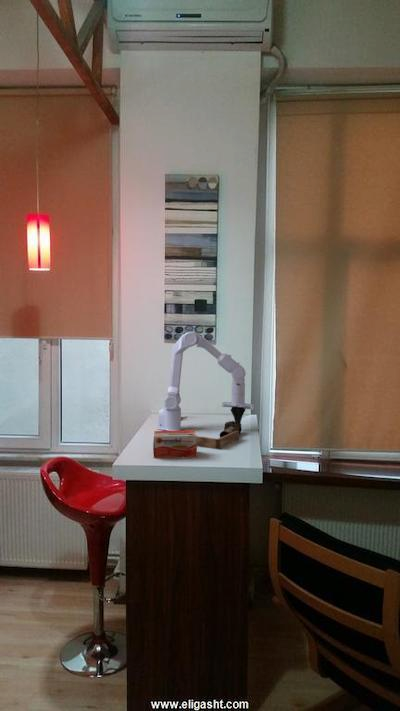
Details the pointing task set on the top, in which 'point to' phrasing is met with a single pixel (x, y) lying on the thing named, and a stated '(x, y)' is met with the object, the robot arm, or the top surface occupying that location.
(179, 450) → the medicine box
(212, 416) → the top surface
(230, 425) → the brown rock
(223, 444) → the corner fence
